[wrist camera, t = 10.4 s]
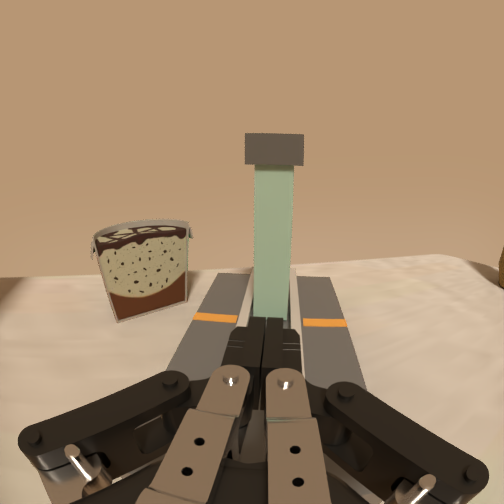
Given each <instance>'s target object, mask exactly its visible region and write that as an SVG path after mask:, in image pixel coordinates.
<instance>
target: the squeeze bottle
mask: <svg viewBox="0 0 504 504" xmlns="http://www.w3.org/2000/svg"><path fill="white" fill-rule="evenodd" d="M499 284H500V285H501V286H502V287H503V288H504V248H503V251H502V254H501V257H500V261H499Z"/></svg>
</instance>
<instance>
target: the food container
mask: <svg viewBox="0 0 504 504" xmlns="http://www.w3.org/2000/svg"><path fill="white" fill-rule="evenodd" d="M188 237H189V238H192V239H193V235H192V230H191V227H189V222H187V221H183V220H173V219H149V220H140V221H132V222H126V223H121V224H117V225H113V226H110V227H107V228H104V229H102V230H100V231H98V232H97V233H95V234H94V235H93V241H92V243H91V259H92V260H93V253H94V252H96V256H97V259H98V264H99V267H100V271H101V274H102V278H103V281H104V285H105V288H106V291H107V295H108V298H109V301H110V304H111V307H112V310H113V313H114V316H115V319H116V321H117V323H120V322H123V321H127V320H130V319H134V318H137V317H140V316H144V315H147V314H150V313H154V312H157V311H160V310H163V309H167V308H170V307H173V306H176V305H180V304H183V303H186V302H187V271H188Z"/></svg>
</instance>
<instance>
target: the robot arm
mask: <svg viewBox="0 0 504 504" xmlns="http://www.w3.org/2000/svg"><path fill="white" fill-rule="evenodd" d="M260 392H261V398H260ZM259 400H260V410H264V425H263V462H258V463H249V464H247V463H242V462H241V457H242V453H243V450H244V446H245V442H246V438H247V434H248V430H249V426H250V420H251V417H252V411H253V410H258V409H259ZM158 416H161V417H159V418H157V419H155V420H153V421H151V422H149V423H147V424H145V425H143V426H141V427H139V428H137V427H138V426H140V425H142V424H144V423H146V422H148V421H150V420H152V419H154V418H156V417H158ZM135 428H137V429H135ZM18 446H19V448H20V450H21V451H22V452H23V453H24V455H25V456H26V457H27V458H28V459H29V460H30V462H31V464H32V465H33V466H34V467H35V468H36V470H37V471H38V472H39V475H40V477H41V480H42V482H43V485H44V487H45V489H46V492H47V494H48V496H49V498H50V501H51V503H52V504H370V503H369V502H368V501H366V500H365V499H364V498H363V497H362V496H361V495H359V494H358V493H357V492H356V491H355V490H354V489H352V488H351V487H350V486H349V485H348V484H347V483H346V482H344V481H343V480H342V479H340V478H339V477H337V476H336V475H334V474H332V473H330V472H327V471H326V469H325V463H324V457H323V453H324V454H326V455H327V456H328V457H329V458H330V459H331V460H333V461H334V462H335V463H336V464H337V465H338V466H340V467H341V468H342V469H343V470H344V471H346V472H347V473H348V474H349V475H351V476H352V477H353V478H354V479H356V480H357V481H358V482H359V483H361V484H362V485H363V486H364V487H366V488H367V489H368V490H370V491H371V492H372V493H374V494H375V495H376V496H378V497H379V498H380V499H382V500H383V501H384V502H385V503H384V504H467V503H468V502H469V501H470V500H471V499H472V498H474V497H475V496H476V495H477V494H478V493H479V492H480V491H482V490H483V489H484V488H485V486H486V485H487V483H488V480H489V471H488V469H487V467H486V465H485V464H484V463H483V462H481V461H480V460H478V459H476V458H474V457H473V456H471V455H469V454H467V453H466V452H464V451H462V450H460V449H459V448H457V447H455V446H453V445H452V444H450V443H448V442H447V441H445V440H443V439H442V438H440V437H438V436H437V435H435V434H433V433H432V432H430V431H428V430H427V429H425V428H424V427H422V426H420V425H419V424H417V423H416V422H414V421H412V420H411V419H409V418H408V417H406V416H404V415H403V414H401V413H400V412H398V411H397V410H395V409H393V408H392V407H390V406H389V405H387V404H386V403H384V402H383V401H381V400H380V399H378V398H377V397H375V396H374V395H372V394H371V393H369V392H368V391H366V390H365V389H363V388H362V387H360V386H359V385H357V384H355V383H352V382H347V381H342V382H336V383H334V384H332V385H330V386H329V387H328V389H326V388H321V387H318V386H315V385H312V384H311V383H309V382H308V381H307V380H306V379H305V378H304V376H303V373H302V360H301V345H300V335H299V334H298V333H297V331H296V330H295V329H283V318H280V317H267V324H266V317H257V316H250V317H249V322H248V326H247V327H242V326H237V327H236V328H235V329H234V330H233V331H232V332H231V333H230V336H229V341H228V343H227V347H226V350H225V353H224V356H223V360H222V363H221V366H220V367H219V368H217V369H216V370H214V371H213V373H212V375H211V377H209V378H207V379H202V380H193V381H189V378H188V377H187V376H186V375H185V374H184V373H182V372H179V371H174V370H169V371H164V372H161V373H159V374H156V375H154V376H152V377H150V378H148V379H145V380H143V381H141V382H139V383H137V384H134V385H132V386H130V387H127V388H125V389H123V390H121V391H118V392H116V393H114V394H111V395H109V396H106V397H104V398H102V399H99V400H97V401H94V402H92V403H89V404H87V405H84V406H82V407H79V408H77V409H74V410H72V411H69V412H66V413H64V414H61V415H58V416H56V417H53V418H50V419H47V420H45V421H42V422H39V423H36V424H33V425H30V426H28V427H26V428H25V429H23V430H22V431H21V433H20V434H19V437H18ZM165 453H166V455H165V457H164V459H162V460H159V461H156V462H154V463H152V464H150V465H148V466H146V467H144V468H142V469H141V470H139V471H137V472H135V473H133V474H131V475H129V476H127V477H126V478H124V479H122V480H120V481H118V482H116V483H114V484H112V480H113V479H116V478H118V477H120V476H122V475H124V474H126V473H129V472H131V471H133V470H135V469H137V468H139V467H141V466H143V465H145V464H147V463H149V462H151V461H152V460H154V459H156V458H158V457H160V456H162V455H164V454H165Z"/></svg>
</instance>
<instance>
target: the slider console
mask: <svg viewBox="0 0 504 504" xmlns="http://www.w3.org/2000/svg"><path fill="white" fill-rule="evenodd" d="M253 304H254V267H253V268H252V271H251V274H232V273H218V274H217V276H216V278H215V280H214V282H213V284H212V285H211V287H210V289H209V291H208V293H207V294H206V296H205V298H204V300H203V302H202V304H201V305H200V307H199V309H198V311H197V312H196V314H195V315H194V317H193V320H192V322H191V324H190V326H189V328H188V330H187V331H186V333H185V335H184V337H183V339H182V341H181V343H180V344H179V346H178V348H177V350H176V352H175V354H174V356H173V358H172V359H171V361H170V363H169V365H168V367H167V369H166V371H169V370H174V371H179V372H182V373H184V374H185V375H186V376H187V377H188V378H189V381H193V380H202V379H207V378H209V377H211V375H212V373H213V371H214V370H216V369H217V368H219V367H220V366H221V363H222V360H223V356H224V353H225V350H226V347H227V343H228V341H229V336H230V333H231V332H232V331H233V330H234V329H235V328H236V327H237V326H242V327H247V326H248V322H249V317H250V316H253ZM266 324H267V320H266ZM283 329H295V330H296V331H297V333H298V334H299V335H300V345H301V360H302V373H303V376H304V378H305V379H306V380H307V381H308V382H309V383H311V384H312V385H315V386H318V387H321V388H326V389H328V387H329V386H330V385H332V384H334V383H336V382H342V381H347V382H352V383H355V384H357V385H359V386H360V387H362V388H363V389H365V390H366V391H367V389H366V385H365V382H364V379H363V375H362V372H361V369H360V365H359V362H358V359H357V356H356V353H355V349H354V346H353V343H352V340H351V337H350V334H349V331H348V328H347V324H346V321H345V319H344V316H343V313H342V310H341V308H340V305H339V302H338V299H337V296H336V293H335V291H334V288H333V285H332V282H331V280H330V277H306V276H296V269H294V268H290V277H289V294H288V309H287V320H283ZM260 398H261V392H260ZM159 417H161V416H158V417H156V418H154V419H152V420H150V421H148V422H146V423H144V424H142V425H140V426H138V427H137V428H139V427H141V426H143V425H145V424H147V423H149V422H151V421H153V420H155V419H157V418H159ZM263 425H264V410H260V400H259V409H258V410H253V411H252V417H251V420H250V426H249V430H248V434H247V438H246V442H245V446H244V450H243V453H242V457H241V462H242V463H247V464H249V463H258V462H263ZM137 428H136V429H137ZM165 455H166V453H165V454H164V455H162V456H160V457H158V458H156V459H154V460H152V461H151V462H149V463H147V464H145V465H143V466H141V467H139V468H137V469H135V470H133V471H131V472H129V473H126V474H124V475H122V476H121V477H122V479H124V478H126V477H127V476H129V475H131V474H133V473H135V472H137V471H139V470H141V469H142V468H144V467H146V466H148V465H150V464H152V463H154V462H156V461H159V460H162V459H164V457H165ZM323 457H324V463H325V469H326V471H327V472H330V473H332V474H334V475H336V476H337V477H339V478H340V479H342V480H343V481H344V482H346V483H347V484H348V485H349V486H350V487H351V488H352V489H354V490H355V491H356V492H357V493H358V494H359V495H361V496H362V497H363V498H364V499H365V500H366V501H368V502H369V503H370V504H380V503H381V502H382V499H380V498H379V497H378V496H376V495H375V494H374V493H372V492H371V491H370V490H368V489H367V488H366V487H364V486H363V485H362V484H361V483H359V482H358V481H357V480H356V479H354V478H353V477H352V476H351V475H349V474H348V473H347V472H346V471H344V470H343V469H342V468H341V467H340V466H338V465H337V464H336V463H335V462H334V461H333V460H331V459H330V458H329V457H328V456H327V455H326V454H324V453H323Z"/></svg>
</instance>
